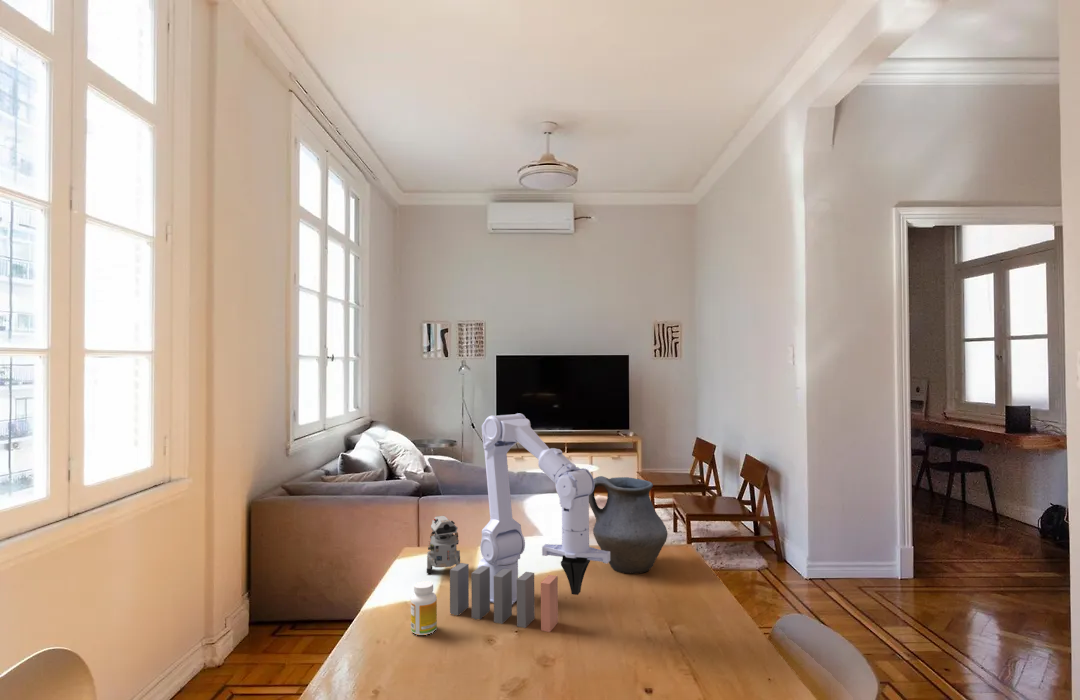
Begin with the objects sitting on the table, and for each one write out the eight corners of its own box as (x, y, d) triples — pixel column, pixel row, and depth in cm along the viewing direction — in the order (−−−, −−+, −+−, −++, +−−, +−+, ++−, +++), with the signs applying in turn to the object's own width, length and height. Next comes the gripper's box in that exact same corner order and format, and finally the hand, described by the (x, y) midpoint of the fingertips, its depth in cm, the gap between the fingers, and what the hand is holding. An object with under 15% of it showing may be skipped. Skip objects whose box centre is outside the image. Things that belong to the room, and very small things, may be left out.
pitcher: (675, 581, 152) (674, 484, 153) (590, 581, 152) (589, 484, 153) (660, 555, 173) (659, 469, 173) (585, 556, 173) (584, 470, 174)
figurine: (424, 582, 153) (424, 524, 153) (428, 567, 164) (428, 513, 165) (459, 581, 154) (459, 523, 154) (461, 566, 165) (461, 512, 166)
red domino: (541, 630, 125) (540, 582, 125) (549, 620, 129) (548, 574, 130) (549, 632, 124) (549, 583, 124) (557, 622, 129) (557, 575, 129)
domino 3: (493, 622, 129) (493, 576, 129) (503, 613, 134) (503, 568, 134) (502, 623, 128) (501, 577, 128) (511, 614, 133) (511, 569, 133)
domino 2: (471, 618, 131) (471, 572, 131) (482, 609, 136) (481, 565, 136) (479, 619, 130) (479, 574, 130) (489, 611, 135) (489, 566, 135)
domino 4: (516, 626, 127) (516, 579, 127) (526, 617, 131) (525, 571, 132) (525, 627, 126) (525, 580, 126) (534, 618, 131) (534, 572, 131)
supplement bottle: (441, 627, 127) (441, 581, 127) (428, 638, 122) (428, 590, 122) (419, 623, 128) (419, 578, 129) (405, 634, 123) (405, 587, 124)
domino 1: (450, 614, 133) (449, 569, 133) (461, 606, 138) (460, 562, 138) (457, 616, 132) (457, 570, 133) (468, 607, 137) (468, 563, 137)
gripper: (536, 529, 124) (536, 595, 124) (603, 536, 119) (604, 605, 118) (548, 521, 131) (549, 583, 130) (612, 527, 125) (613, 592, 125)
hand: (576, 592), depth 125 cm, fingers closed
